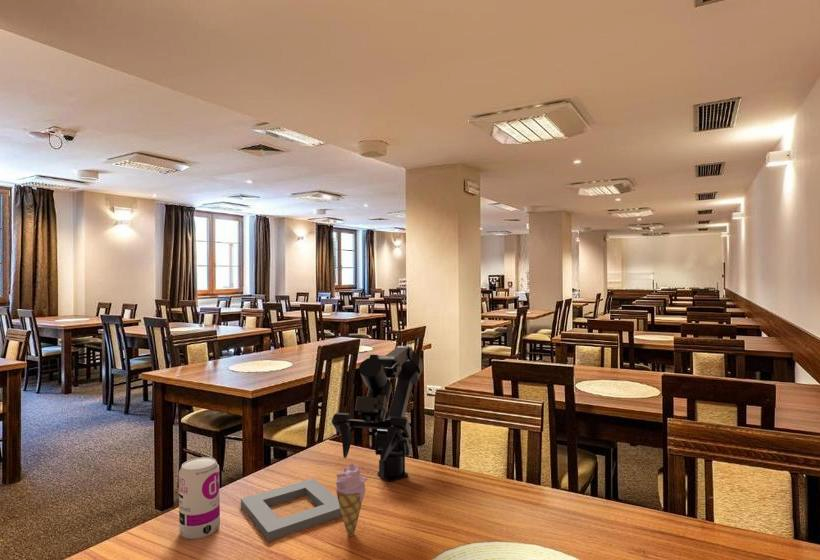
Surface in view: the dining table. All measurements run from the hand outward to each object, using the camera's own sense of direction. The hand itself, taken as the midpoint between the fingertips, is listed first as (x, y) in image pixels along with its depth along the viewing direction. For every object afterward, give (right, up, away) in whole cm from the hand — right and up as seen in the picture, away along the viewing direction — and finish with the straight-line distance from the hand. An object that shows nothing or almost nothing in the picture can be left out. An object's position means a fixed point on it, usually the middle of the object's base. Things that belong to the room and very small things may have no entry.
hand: (363, 459), depth 111 cm
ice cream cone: (-2, -14, -7) cm, 16 cm away
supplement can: (-36, -14, -5) cm, 39 cm away
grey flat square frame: (-17, -14, +4) cm, 22 cm away
